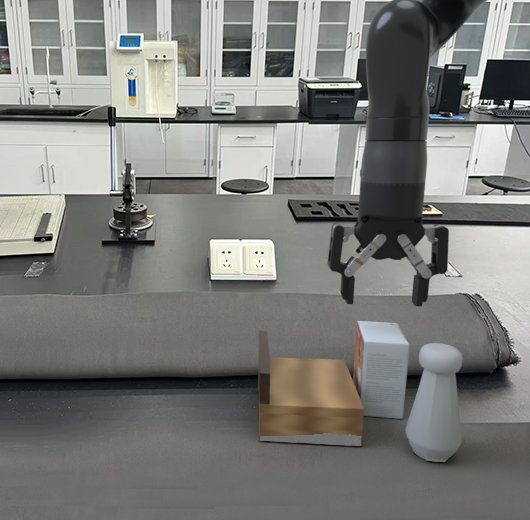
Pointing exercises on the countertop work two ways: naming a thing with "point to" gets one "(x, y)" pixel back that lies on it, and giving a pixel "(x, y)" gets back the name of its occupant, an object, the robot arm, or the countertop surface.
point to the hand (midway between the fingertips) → (382, 303)
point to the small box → (381, 368)
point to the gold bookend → (306, 396)
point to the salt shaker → (436, 404)
